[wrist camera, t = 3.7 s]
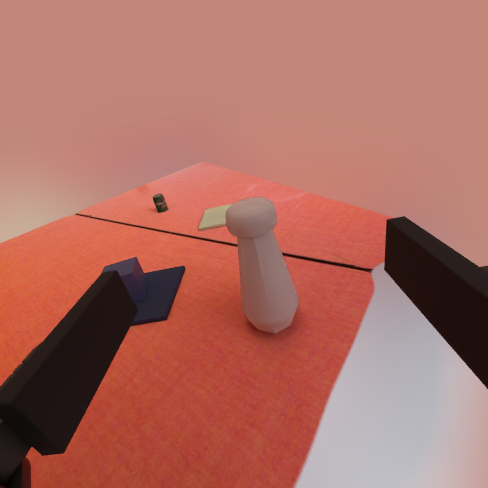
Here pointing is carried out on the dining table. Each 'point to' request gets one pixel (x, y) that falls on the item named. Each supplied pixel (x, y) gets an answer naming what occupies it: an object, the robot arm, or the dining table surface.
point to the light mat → (214, 217)
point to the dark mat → (158, 295)
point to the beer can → (160, 203)
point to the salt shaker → (262, 266)
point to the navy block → (131, 277)
